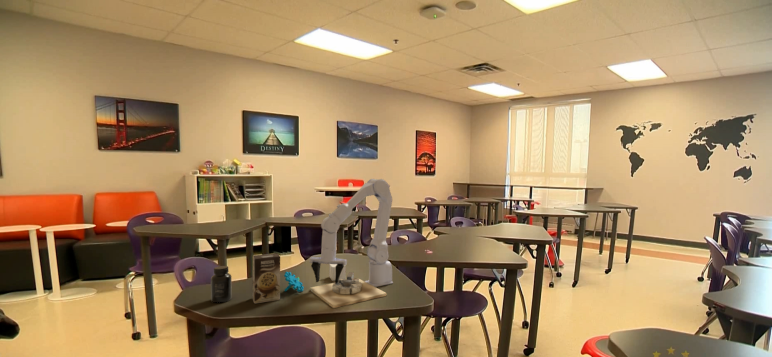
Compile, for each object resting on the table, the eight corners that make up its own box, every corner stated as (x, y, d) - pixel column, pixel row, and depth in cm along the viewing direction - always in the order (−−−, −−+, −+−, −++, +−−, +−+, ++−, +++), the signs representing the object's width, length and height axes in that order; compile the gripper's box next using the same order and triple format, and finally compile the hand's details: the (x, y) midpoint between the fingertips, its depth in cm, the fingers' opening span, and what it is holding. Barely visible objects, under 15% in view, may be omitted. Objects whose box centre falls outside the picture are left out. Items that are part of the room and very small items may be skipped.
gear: (300, 291, 129) (283, 272, 131) (289, 303, 129) (271, 283, 131) (309, 286, 140) (292, 268, 142) (298, 296, 140) (282, 278, 142)
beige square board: (358, 280, 148) (358, 270, 148) (386, 295, 130) (386, 283, 130) (309, 290, 136) (309, 278, 136) (333, 308, 118) (333, 295, 118)
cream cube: (332, 281, 148) (332, 267, 148) (329, 277, 154) (329, 263, 154) (345, 279, 150) (345, 265, 150) (342, 275, 156) (342, 262, 156)
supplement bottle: (235, 298, 127) (235, 265, 127) (221, 304, 121) (221, 270, 121) (221, 295, 130) (221, 264, 130) (206, 302, 123) (206, 269, 123)
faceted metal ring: (359, 294, 127) (359, 284, 127) (330, 293, 128) (330, 284, 128) (364, 280, 144) (364, 272, 144) (338, 280, 144) (338, 271, 144)
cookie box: (254, 304, 121) (254, 258, 121) (252, 298, 127) (252, 255, 127) (280, 299, 126) (280, 256, 125) (277, 294, 131) (277, 252, 131)
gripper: (348, 247, 139) (347, 280, 139) (314, 244, 141) (312, 278, 140) (345, 250, 132) (343, 285, 132) (308, 247, 133) (306, 282, 133)
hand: (327, 282), depth 135 cm, fingers open, 7 cm apart
